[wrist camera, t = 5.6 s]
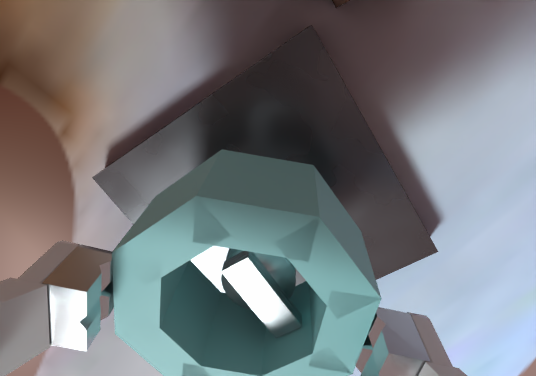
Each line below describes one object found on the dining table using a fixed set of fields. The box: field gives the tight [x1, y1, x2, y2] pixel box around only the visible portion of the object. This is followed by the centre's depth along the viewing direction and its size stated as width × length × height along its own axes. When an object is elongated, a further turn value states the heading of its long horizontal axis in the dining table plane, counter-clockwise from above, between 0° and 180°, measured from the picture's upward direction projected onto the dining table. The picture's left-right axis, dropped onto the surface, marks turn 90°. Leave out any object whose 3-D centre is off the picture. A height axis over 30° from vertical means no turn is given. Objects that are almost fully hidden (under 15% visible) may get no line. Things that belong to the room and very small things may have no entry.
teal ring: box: [112, 150, 381, 376], centre depth 11 cm, size 10×6×3 cm
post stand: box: [92, 25, 438, 338], centre depth 13 cm, size 10×10×6 cm
